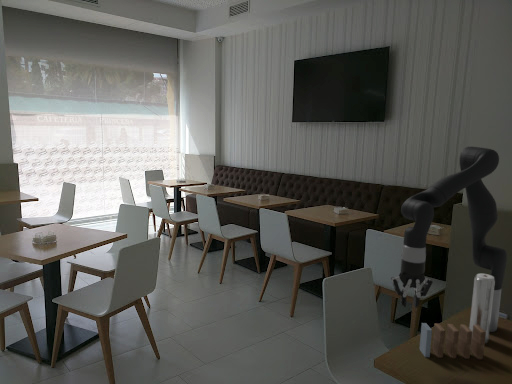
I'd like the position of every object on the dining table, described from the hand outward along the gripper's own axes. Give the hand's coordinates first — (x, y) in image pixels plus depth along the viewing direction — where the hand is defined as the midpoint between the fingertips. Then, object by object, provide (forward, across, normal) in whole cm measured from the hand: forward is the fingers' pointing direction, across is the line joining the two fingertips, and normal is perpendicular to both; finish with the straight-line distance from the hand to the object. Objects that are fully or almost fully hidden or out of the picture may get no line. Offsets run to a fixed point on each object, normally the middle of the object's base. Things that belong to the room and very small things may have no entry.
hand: (409, 306), depth 135 cm
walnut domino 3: (+17, +20, 0) cm, 26 cm away
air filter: (+17, +31, +11) cm, 37 cm away
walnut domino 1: (+17, +11, 0) cm, 20 cm away
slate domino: (+17, +6, 0) cm, 18 cm away
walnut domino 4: (+17, +24, 0) cm, 30 cm away
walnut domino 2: (+17, +16, 0) cm, 23 cm away
